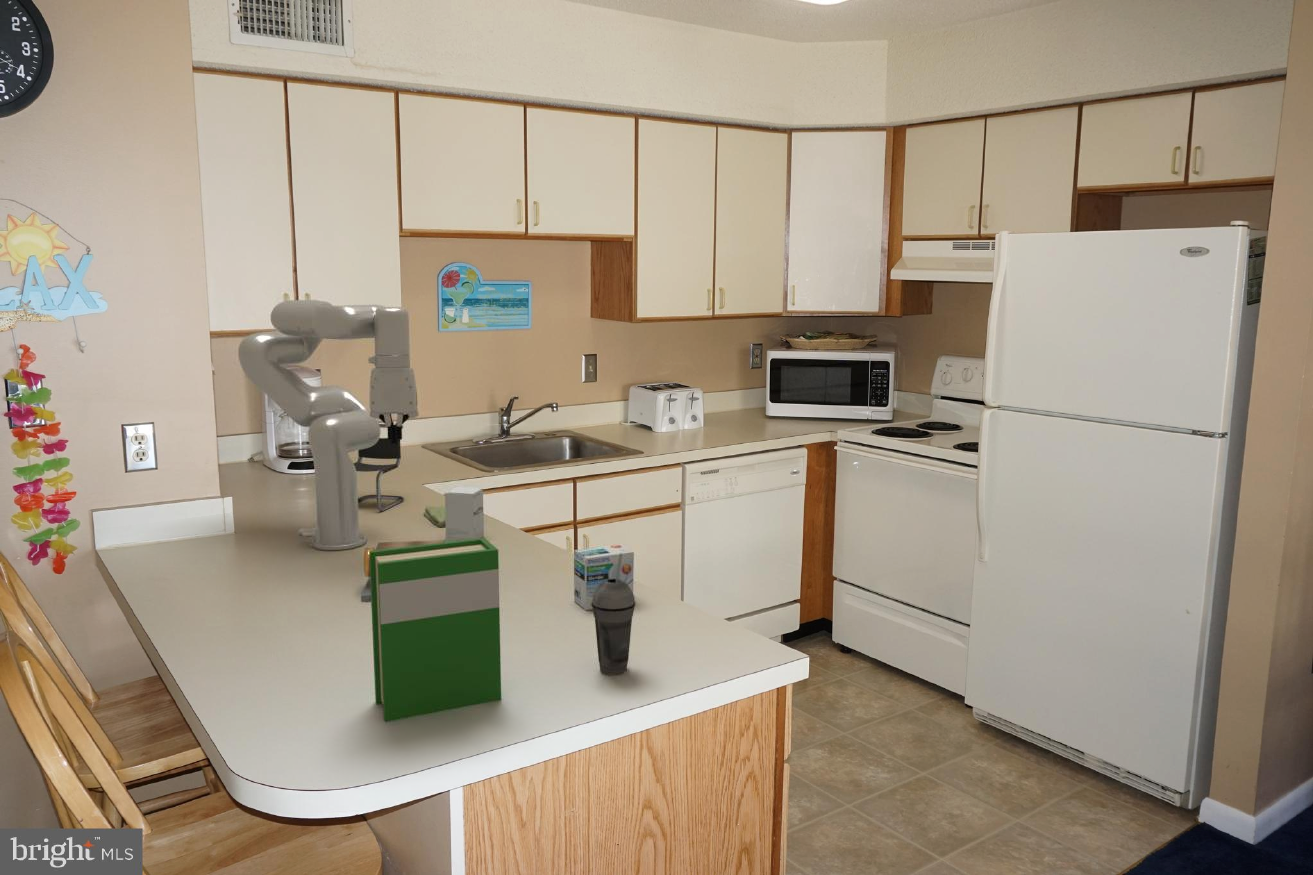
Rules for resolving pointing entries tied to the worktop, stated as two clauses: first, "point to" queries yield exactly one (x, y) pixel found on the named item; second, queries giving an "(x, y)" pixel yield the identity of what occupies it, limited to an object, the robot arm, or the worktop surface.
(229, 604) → the worktop surface
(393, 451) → the chair
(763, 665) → the worktop surface
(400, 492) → the worktop surface
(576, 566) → the light bulb box
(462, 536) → the supplement box
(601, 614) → the beverage cup
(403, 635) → the hardback book
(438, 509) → the washcloth
